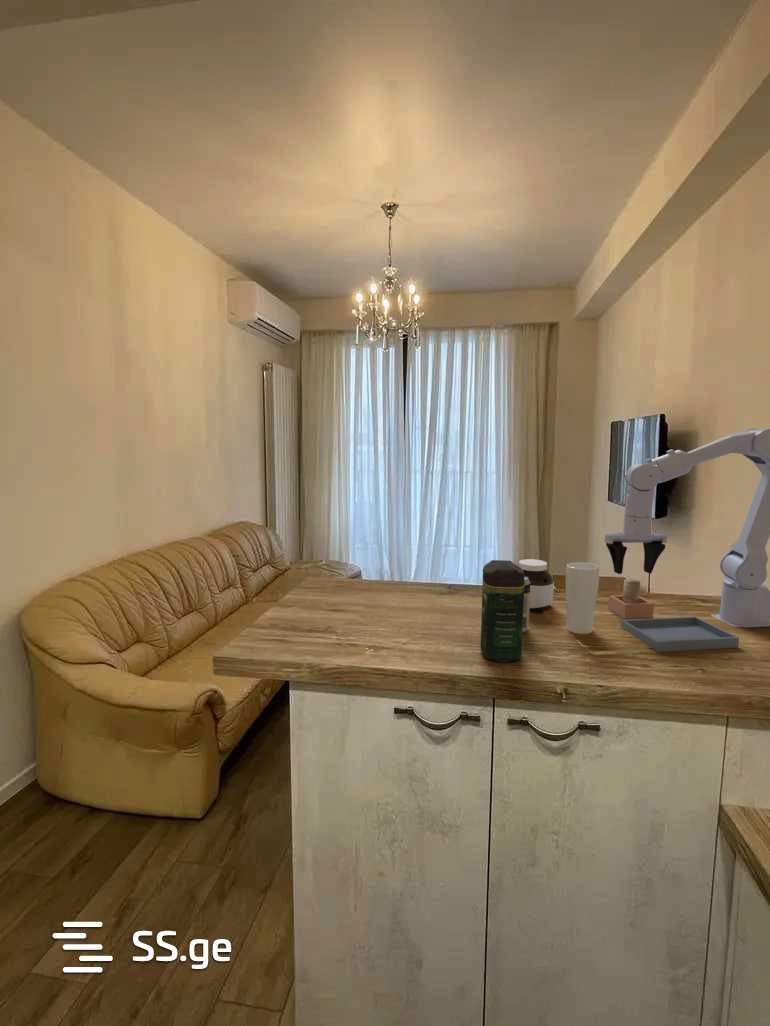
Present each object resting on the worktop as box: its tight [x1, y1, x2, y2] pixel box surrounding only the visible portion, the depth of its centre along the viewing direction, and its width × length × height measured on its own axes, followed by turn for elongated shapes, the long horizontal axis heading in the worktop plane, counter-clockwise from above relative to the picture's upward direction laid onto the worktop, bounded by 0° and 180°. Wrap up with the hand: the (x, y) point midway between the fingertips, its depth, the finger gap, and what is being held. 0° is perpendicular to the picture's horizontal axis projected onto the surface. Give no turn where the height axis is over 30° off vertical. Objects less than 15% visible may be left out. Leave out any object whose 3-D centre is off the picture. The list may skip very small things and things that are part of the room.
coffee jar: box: [480, 559, 525, 663], centre depth 108 cm, size 10×8×19 cm
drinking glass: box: [565, 561, 600, 635], centre depth 120 cm, size 7×7×15 cm
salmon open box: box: [607, 594, 655, 620], centre depth 131 cm, size 7×7×4 cm
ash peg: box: [622, 578, 641, 604], centre depth 131 cm, size 4×4×8 cm
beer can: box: [522, 576, 530, 634], centre depth 121 cm, size 5×5×12 cm
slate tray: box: [620, 615, 740, 653], centre depth 117 cm, size 18×13×2 cm
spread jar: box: [518, 558, 555, 613], centre depth 136 cm, size 12×11×12 cm
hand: (632, 572), depth 130 cm, fingers open, 7 cm apart
